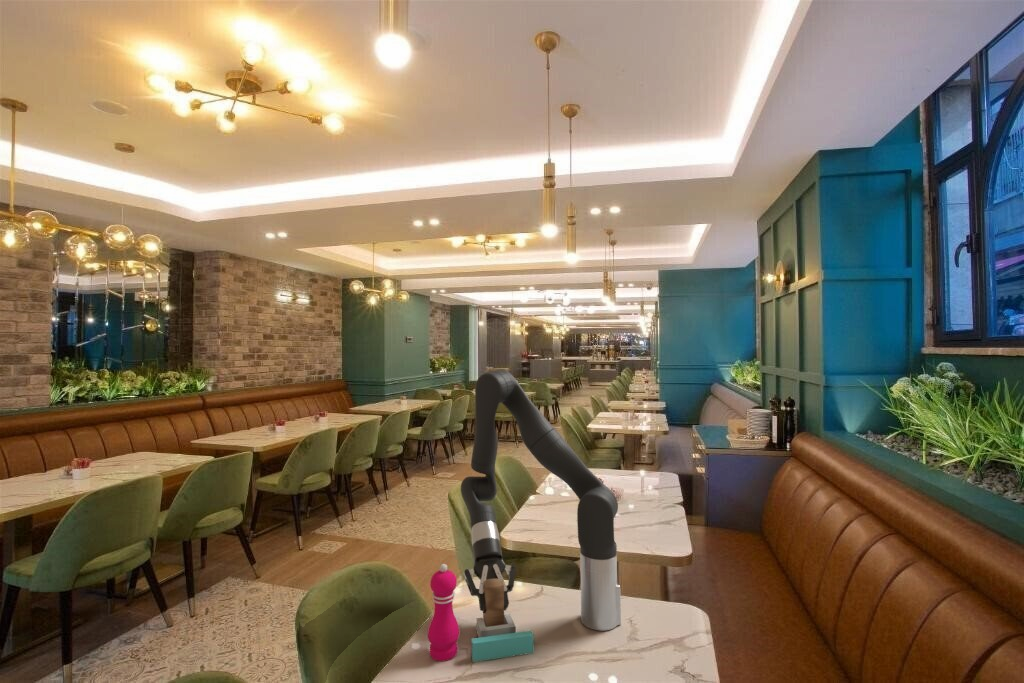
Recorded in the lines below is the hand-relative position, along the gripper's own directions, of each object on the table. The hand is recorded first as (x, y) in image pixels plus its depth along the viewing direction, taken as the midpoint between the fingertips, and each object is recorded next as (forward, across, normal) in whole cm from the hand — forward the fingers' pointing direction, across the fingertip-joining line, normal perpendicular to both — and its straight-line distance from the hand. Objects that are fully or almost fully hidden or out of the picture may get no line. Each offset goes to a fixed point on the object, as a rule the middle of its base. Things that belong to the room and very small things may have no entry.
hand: (495, 610), depth 121 cm
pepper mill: (+8, -13, 0) cm, 15 cm away
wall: (+10, 0, -3) cm, 11 cm away
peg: (+2, 0, +4) cm, 5 cm away
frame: (+5, 0, +3) cm, 6 cm away
